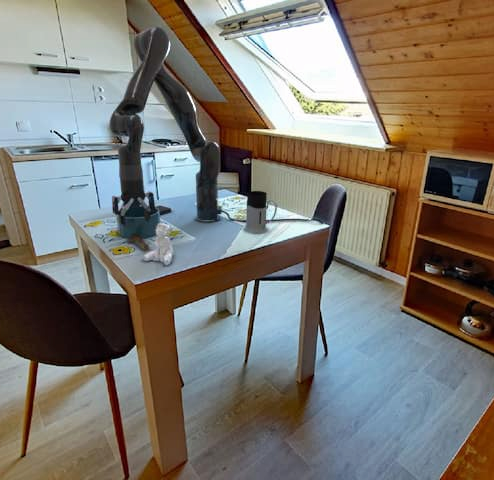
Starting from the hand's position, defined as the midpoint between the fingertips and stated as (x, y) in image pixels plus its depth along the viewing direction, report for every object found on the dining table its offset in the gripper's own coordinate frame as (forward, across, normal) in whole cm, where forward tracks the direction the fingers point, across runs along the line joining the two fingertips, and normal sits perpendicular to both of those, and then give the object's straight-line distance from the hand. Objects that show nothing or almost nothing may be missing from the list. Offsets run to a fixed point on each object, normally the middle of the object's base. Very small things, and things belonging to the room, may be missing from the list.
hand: (135, 223), depth 121 cm
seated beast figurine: (+8, +2, -16) cm, 18 cm away
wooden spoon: (+8, 0, -1) cm, 8 cm away
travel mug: (+8, +45, -15) cm, 48 cm away
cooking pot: (+8, +6, +13) cm, 16 cm away
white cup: (+8, +18, +44) cm, 48 cm away
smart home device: (+8, +18, +30) cm, 36 cm away
